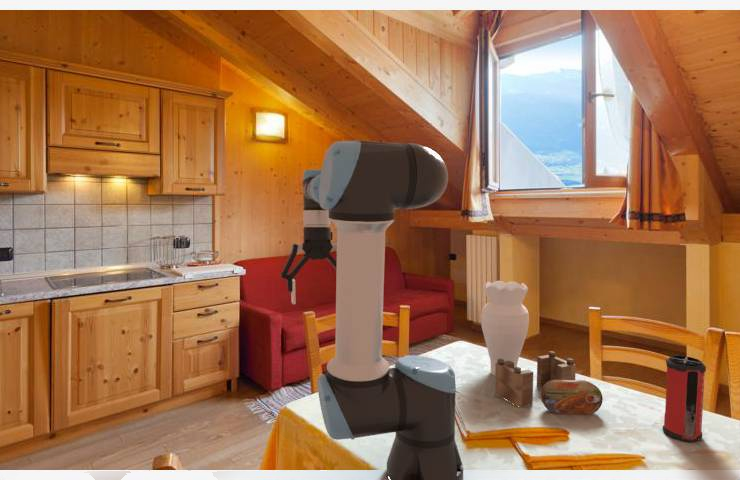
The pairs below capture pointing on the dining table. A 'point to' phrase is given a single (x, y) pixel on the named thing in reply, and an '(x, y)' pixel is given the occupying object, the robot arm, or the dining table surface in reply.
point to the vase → (504, 321)
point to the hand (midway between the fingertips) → (317, 301)
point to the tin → (571, 397)
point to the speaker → (684, 398)
